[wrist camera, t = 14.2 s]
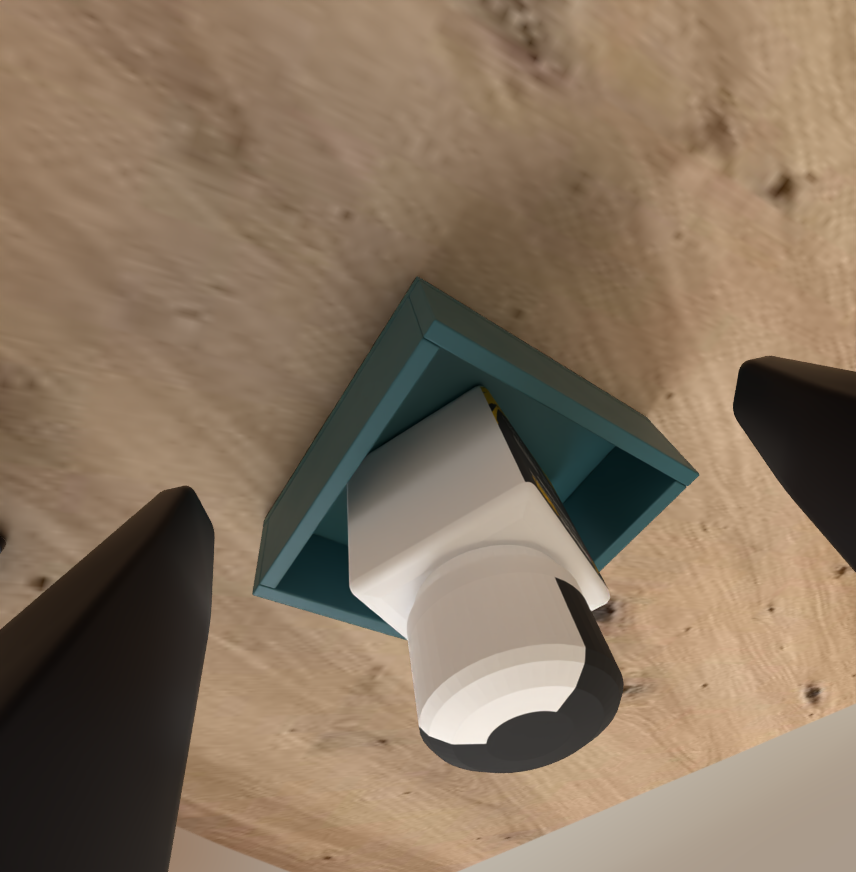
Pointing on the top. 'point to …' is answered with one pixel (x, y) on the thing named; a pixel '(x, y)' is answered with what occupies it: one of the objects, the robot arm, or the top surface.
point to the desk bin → (427, 393)
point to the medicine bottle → (483, 590)
